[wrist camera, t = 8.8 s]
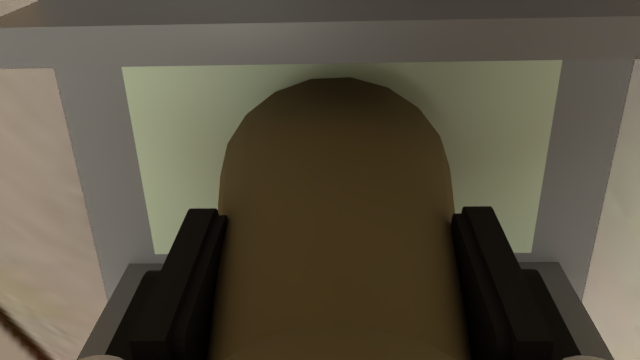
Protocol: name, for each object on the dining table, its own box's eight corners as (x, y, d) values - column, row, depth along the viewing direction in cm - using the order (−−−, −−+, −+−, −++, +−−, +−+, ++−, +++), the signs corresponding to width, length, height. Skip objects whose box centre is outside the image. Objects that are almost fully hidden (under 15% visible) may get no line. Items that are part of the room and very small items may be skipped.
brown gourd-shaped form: (426, 291, 17) (554, 841, 7) (216, 270, 17) (59, 810, 7) (473, 90, 14) (778, 540, 5) (224, 62, 14) (-9, 473, 4)
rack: (750, -614, 11) (1110, -1044, 6) (564, 302, 21) (639, 445, 16) (-65, -568, 12) (-389, -926, 7) (124, 303, 22) (55, 440, 17)
